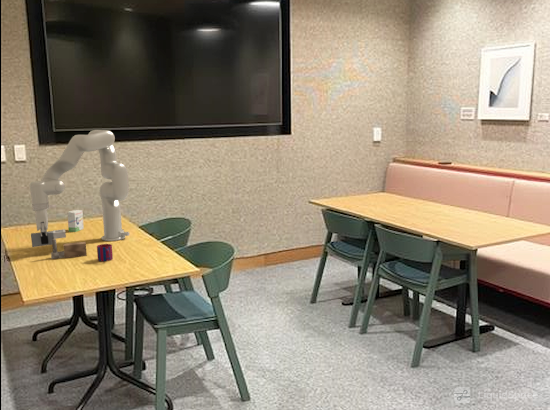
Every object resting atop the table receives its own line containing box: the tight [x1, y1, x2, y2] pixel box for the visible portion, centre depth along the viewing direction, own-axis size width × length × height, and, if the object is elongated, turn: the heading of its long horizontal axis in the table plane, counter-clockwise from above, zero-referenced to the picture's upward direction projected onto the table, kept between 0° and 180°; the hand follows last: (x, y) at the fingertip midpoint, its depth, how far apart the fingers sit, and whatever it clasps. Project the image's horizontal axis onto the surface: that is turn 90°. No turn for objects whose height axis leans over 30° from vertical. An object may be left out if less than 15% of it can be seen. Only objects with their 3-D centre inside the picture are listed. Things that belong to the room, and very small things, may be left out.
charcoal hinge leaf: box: [30, 228, 67, 248], centre depth 259 cm, size 16×6×6 cm, turn 114°
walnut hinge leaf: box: [50, 239, 87, 260], centre depth 252 cm, size 16×4×9 cm, turn 113°
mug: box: [96, 243, 114, 262], centre depth 245 cm, size 7×10×7 cm
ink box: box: [67, 209, 84, 233], centre depth 310 cm, size 9×5×12 cm, turn 168°
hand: (45, 242), depth 259 cm, fingers closed on charcoal hinge leaf, 4 cm apart
